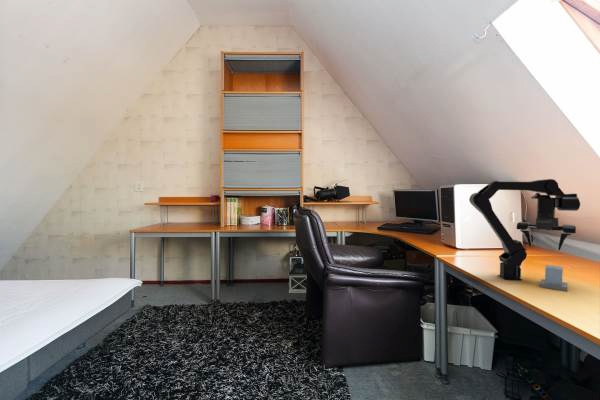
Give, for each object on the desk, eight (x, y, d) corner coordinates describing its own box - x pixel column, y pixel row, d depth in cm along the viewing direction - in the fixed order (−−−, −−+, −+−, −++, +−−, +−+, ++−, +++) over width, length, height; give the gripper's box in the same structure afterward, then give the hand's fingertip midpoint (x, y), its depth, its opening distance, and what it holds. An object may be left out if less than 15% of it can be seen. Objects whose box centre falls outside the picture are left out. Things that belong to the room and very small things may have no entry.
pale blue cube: (544, 283, 121) (545, 267, 120) (545, 280, 124) (546, 265, 124) (561, 285, 117) (562, 269, 117) (562, 282, 121) (562, 267, 121)
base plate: (539, 287, 121) (539, 275, 120) (541, 282, 127) (541, 271, 127) (567, 291, 115) (567, 279, 115) (567, 286, 121) (568, 274, 121)
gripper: (515, 209, 129) (514, 248, 129) (576, 212, 117) (574, 254, 117) (519, 208, 137) (518, 244, 138) (576, 211, 125) (575, 250, 125)
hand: (544, 248), depth 129 cm, fingers open, 9 cm apart
